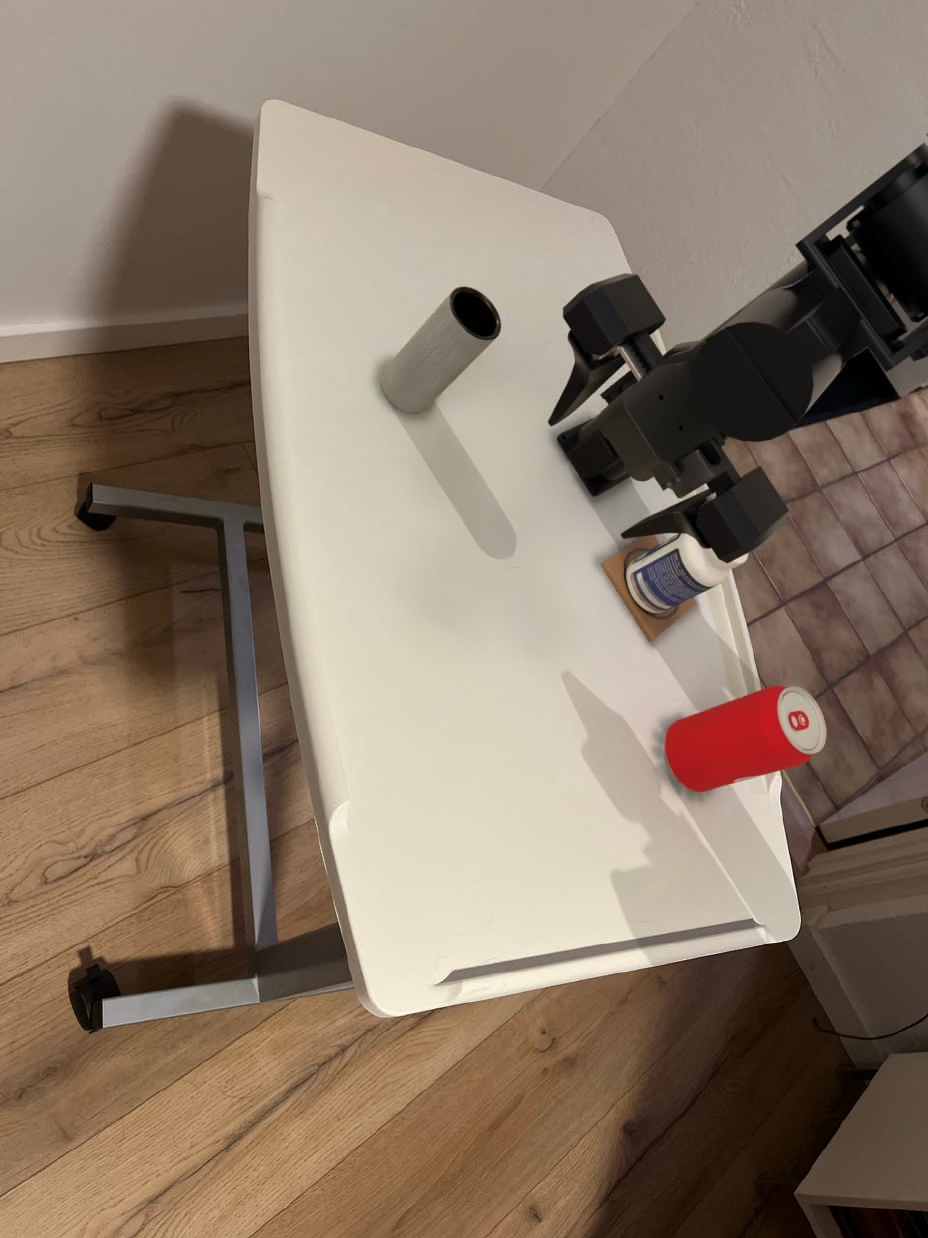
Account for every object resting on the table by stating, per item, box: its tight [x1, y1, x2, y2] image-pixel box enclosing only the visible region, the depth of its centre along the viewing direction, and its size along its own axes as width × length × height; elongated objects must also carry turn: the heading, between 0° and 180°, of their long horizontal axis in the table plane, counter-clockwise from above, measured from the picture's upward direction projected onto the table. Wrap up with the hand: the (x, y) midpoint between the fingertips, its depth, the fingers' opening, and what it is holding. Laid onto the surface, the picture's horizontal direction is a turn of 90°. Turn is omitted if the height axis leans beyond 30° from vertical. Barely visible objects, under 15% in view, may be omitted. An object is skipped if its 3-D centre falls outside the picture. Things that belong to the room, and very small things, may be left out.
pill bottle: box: [626, 533, 749, 613], centre depth 77 cm, size 5×5×10 cm
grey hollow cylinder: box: [380, 286, 502, 414], centre depth 69 cm, size 4×4×10 cm
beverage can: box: [664, 685, 827, 793], centre depth 72 cm, size 6×6×12 cm
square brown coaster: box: [600, 535, 697, 642], centre depth 81 cm, size 8×8×1 cm
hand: (588, 478), depth 63 cm, fingers open, 9 cm apart
